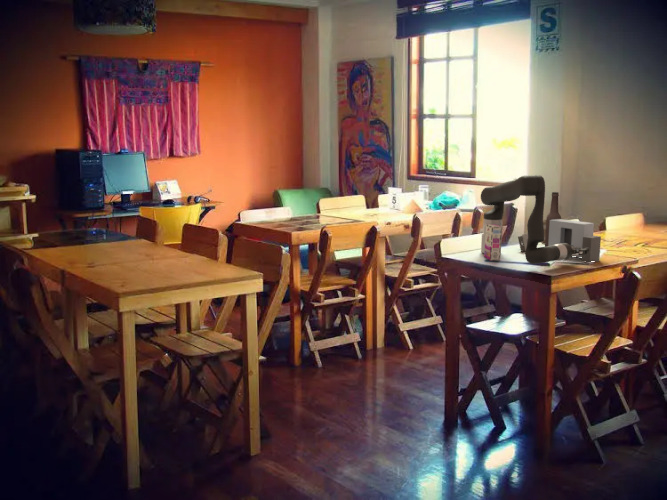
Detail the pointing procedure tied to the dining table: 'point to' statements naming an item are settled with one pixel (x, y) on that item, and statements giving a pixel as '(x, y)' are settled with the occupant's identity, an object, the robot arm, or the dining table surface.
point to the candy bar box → (492, 242)
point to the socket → (569, 232)
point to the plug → (591, 248)
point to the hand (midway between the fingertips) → (580, 248)
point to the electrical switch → (523, 241)
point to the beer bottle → (552, 214)
